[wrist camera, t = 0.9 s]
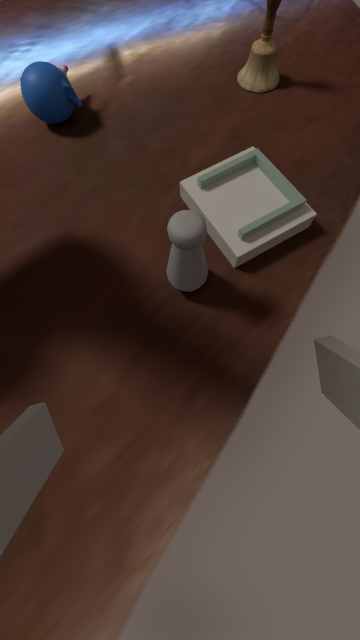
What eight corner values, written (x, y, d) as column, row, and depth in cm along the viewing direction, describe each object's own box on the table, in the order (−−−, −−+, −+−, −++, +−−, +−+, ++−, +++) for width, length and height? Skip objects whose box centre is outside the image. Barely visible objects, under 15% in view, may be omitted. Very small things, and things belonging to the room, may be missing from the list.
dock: (180, 196, 47) (179, 174, 43) (249, 162, 49) (255, 137, 45) (234, 268, 42) (239, 251, 38) (308, 227, 44) (321, 206, 40)
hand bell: (235, 67, 57) (251, -58, 42) (276, 65, 57) (307, -61, 42) (238, 94, 55) (257, -29, 40) (281, 92, 54) (316, -32, 39)
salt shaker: (177, 303, 40) (172, 253, 28) (161, 271, 42) (150, 212, 30) (213, 287, 41) (224, 232, 29) (196, 257, 43) (199, 192, 31)
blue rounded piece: (102, 97, 56) (88, 43, 48) (78, 139, 52) (58, 89, 44) (48, 87, 57) (25, 33, 49) (21, 127, 53) (-9, 76, 46)
